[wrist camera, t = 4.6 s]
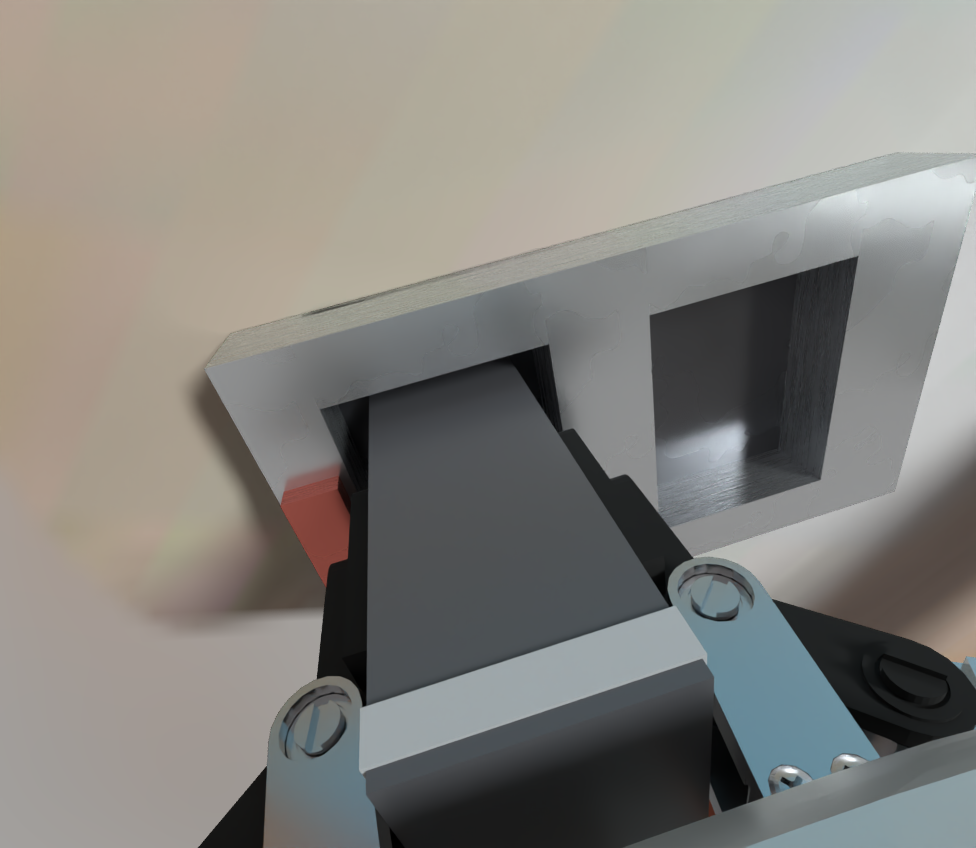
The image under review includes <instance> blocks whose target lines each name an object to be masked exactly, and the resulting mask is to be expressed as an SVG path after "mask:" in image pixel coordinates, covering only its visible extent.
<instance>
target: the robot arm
mask: <svg viewBox="0 0 976 848" xmlns="http://www.w3.org/2000/svg"><path fill="white" fill-rule="evenodd" d="M558 434H559V436H560V437H561V439H562V441H563V442H564V444H565V445H566V447H567V448H568V450H569V451H570V453H571V455H572V456H573V458H574V459H575V461H576V462H577V464H578V465H579V467H580V469H581V470H582V472H583V473H584V475H585V476H586V478H587V479H588V481H589V483H590V484H591V486H592V487H593V489H594V490H595V492H596V493H597V495H598V497H599V498H600V500H601V501H602V503H603V504H604V506H605V507H606V509H607V511H608V512H609V514H610V515H611V517H612V518H613V520H614V521H615V523H616V525H617V526H618V528H619V529H620V531H621V532H622V534H623V535H624V537H625V539H626V540H627V542H628V543H629V545H630V546H631V548H632V549H633V551H634V553H635V554H636V556H637V557H638V559H639V560H640V562H641V564H642V565H643V567H644V568H645V570H646V571H647V573H648V574H649V576H650V578H651V579H652V581H653V582H654V584H655V585H656V587H657V588H658V590H659V592H660V593H661V595H662V596H663V598H664V599H665V601H666V602H667V604H668V606H669V607H673V606H676V607H677V609H678V610H679V612H680V613H681V615H682V616H683V618H684V619H685V621H686V622H687V624H688V625H689V627H690V628H691V630H692V631H693V633H694V634H695V636H696V637H697V639H698V640H699V642H700V643H701V645H702V647H703V648H704V650H705V651H706V653H707V666H708V668H709V669H710V671H711V672H712V674H713V676H714V698H713V722H712V745H711V769H710V793H709V799H710V802H711V804H712V807H713V810H714V812H715V815H713V816H710V817H708V818H705V819H702V820H699V821H696V822H693V823H691V824H688V825H685V826H682V827H679V828H676V829H674V830H671V831H668V832H665V833H662V834H660V835H657V836H654V837H651V838H648V839H646V840H643V841H640V842H637V843H634V844H632V845H629V846H626V847H623V848H976V658H974V657H966V658H965V660H964V662H963V663H957V662H951V661H950V660H949V659H948V658H946V657H944V656H943V655H941V654H939V653H938V652H936V651H934V650H933V649H931V648H929V647H927V646H924V645H922V644H919V643H917V642H914V641H912V640H909V639H906V638H902V637H899V636H895V635H892V634H889V633H885V632H882V631H878V630H875V629H872V628H868V627H865V626H861V625H858V624H855V623H851V622H848V621H845V620H841V619H838V618H834V617H831V616H828V615H824V614H821V613H817V612H814V611H811V610H807V609H804V608H800V607H797V606H794V605H790V604H787V603H783V602H780V601H777V600H773V599H771V598H770V596H769V595H768V593H767V592H766V590H765V589H764V587H763V586H762V584H761V583H760V582H759V581H758V580H757V578H756V577H755V576H754V575H753V574H752V573H751V572H750V571H748V570H747V569H745V568H744V567H742V566H740V565H739V564H737V563H734V562H731V561H729V560H726V559H721V558H714V557H701V558H693V557H692V556H691V554H690V553H689V552H688V550H687V549H686V548H685V547H684V545H683V544H682V543H681V541H680V540H679V539H678V538H677V536H676V535H675V534H674V532H673V531H672V530H671V529H670V527H669V526H668V525H667V523H666V522H665V521H664V520H663V518H662V517H661V516H660V514H659V513H658V512H657V511H656V509H655V508H654V507H653V505H652V504H651V503H650V502H649V500H648V499H647V498H646V496H645V495H644V494H643V493H642V491H641V490H640V489H639V487H638V486H637V485H636V484H635V482H634V481H633V480H632V479H631V478H630V477H629V476H628V475H626V474H624V475H621V476H617V477H614V478H611V479H610V478H609V477H608V475H607V474H606V473H605V471H604V470H603V468H602V467H601V466H600V464H599V463H598V461H597V460H596V459H595V457H594V456H593V454H592V453H591V452H590V450H589V449H588V447H587V446H586V445H585V443H584V442H583V440H582V439H581V438H580V436H579V435H578V433H577V432H576V431H575V430H574V429H573V428H571V429H568V430H565V431H561V432H558ZM367 590H368V489H366V490H362V491H359V492H356V493H353V494H352V496H351V510H350V527H349V544H348V559H346V560H342V561H339V562H336V563H332V564H331V565H330V566H329V569H328V575H327V584H326V594H325V604H324V614H323V624H322V633H321V643H320V653H319V662H318V672H317V680H314V681H312V682H310V683H309V684H307V685H305V686H303V687H302V688H300V689H299V690H298V691H297V692H296V693H295V694H294V695H292V696H291V697H290V698H289V699H288V700H287V702H286V703H285V704H284V706H283V707H282V708H281V710H280V711H279V712H278V714H277V716H276V718H275V721H274V723H273V725H272V727H271V731H270V736H269V741H268V760H267V766H266V767H265V769H264V770H263V771H262V772H261V773H260V775H259V776H258V777H257V778H256V780H255V781H254V782H253V783H252V784H251V786H250V787H249V788H248V789H247V790H246V791H245V792H244V794H243V795H242V796H241V797H240V798H239V800H238V801H237V802H236V803H235V804H234V806H233V807H232V808H231V809H230V810H229V812H228V813H227V814H226V815H225V816H224V818H223V819H222V820H221V821H220V822H219V823H218V825H217V826H216V827H215V828H214V829H213V831H212V832H211V833H210V834H209V835H208V836H207V838H206V839H205V840H204V841H203V842H202V844H201V845H200V846H199V847H198V848H405V847H404V846H403V844H402V843H401V842H400V840H399V839H398V838H397V836H396V835H395V834H394V832H393V831H392V830H391V828H390V827H389V826H388V824H387V823H386V821H385V820H384V819H383V817H382V816H381V815H380V813H379V812H378V811H377V809H376V808H375V807H374V805H373V804H372V802H371V801H370V800H369V798H368V797H367V796H366V779H365V778H364V777H363V775H362V774H361V772H360V771H359V742H360V708H362V707H366V706H367Z"/></svg>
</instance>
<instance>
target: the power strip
mask: <svg viewBox="0 0 976 848" xmlns="http://www.w3.org/2000/svg"><path fill="white" fill-rule="evenodd" d="M975 192H976V154H970V153H894V154H890V155H887V156H883V157H879V158H875V159H872V160H868V161H864V162H861V163H857V164H853V165H850V166H846V167H842V168H839V169H835V170H831V171H828V172H824V173H820V174H817V175H813V176H809V177H805V178H802V179H798V180H794V181H791V182H787V183H783V184H780V185H776V186H772V187H769V188H765V189H761V190H758V191H754V192H750V193H747V194H743V195H739V196H736V197H732V198H728V199H724V200H721V201H717V202H713V203H710V204H706V205H702V206H699V207H695V208H691V209H688V210H684V211H680V212H677V213H673V214H669V215H666V216H662V217H658V218H654V219H651V220H647V221H643V222H640V223H636V224H632V225H629V226H625V227H621V228H618V229H614V230H610V231H607V232H603V233H599V234H596V235H592V236H588V237H584V238H581V239H577V240H573V241H570V242H566V243H562V244H559V245H555V246H551V247H548V248H544V249H540V250H537V251H533V252H529V253H526V254H522V255H518V256H515V257H511V258H507V259H503V260H500V261H496V262H492V263H489V264H485V265H481V266H478V267H474V268H470V269H467V270H463V271H459V272H456V273H452V274H448V275H445V276H441V277H437V278H433V279H430V280H426V281H422V282H419V283H415V284H411V285H408V286H404V287H400V288H397V289H393V290H389V291H386V292H382V293H378V294H375V295H371V296H367V297H363V298H360V299H356V300H352V301H349V302H345V303H341V304H338V305H334V306H330V307H327V308H323V309H319V310H316V311H312V312H308V313H305V314H301V315H297V316H294V317H290V318H286V319H282V320H279V321H275V322H271V323H268V324H264V325H260V326H257V327H253V328H249V329H246V330H242V331H238V332H235V333H231V334H230V335H229V336H228V338H227V339H226V340H225V342H224V343H223V344H222V346H221V347H220V348H219V350H218V351H217V352H216V354H215V355H214V356H213V358H212V359H211V360H210V362H209V363H208V364H207V366H206V367H205V369H204V370H205V371H206V373H207V375H208V377H209V379H210V380H211V382H212V384H213V386H214V387H215V389H216V391H217V393H218V395H219V396H220V398H221V400H222V402H223V403H224V405H225V407H226V409H227V411H228V412H229V414H230V416H231V418H232V420H233V421H234V423H235V425H236V427H237V428H238V430H239V432H240V434H241V436H242V437H243V439H244V441H245V443H246V445H247V446H248V448H249V450H250V452H251V453H252V455H253V457H254V459H255V461H256V462H257V464H258V466H259V468H260V470H261V471H262V473H263V475H264V477H265V478H266V480H267V482H268V484H269V486H270V487H271V489H272V491H273V493H274V494H275V496H276V498H277V500H278V502H279V503H280V507H281V509H282V510H283V512H284V514H285V516H286V518H287V519H288V521H289V523H290V525H291V526H292V528H293V530H294V532H295V534H296V535H297V537H298V539H299V541H300V542H301V544H302V546H303V548H304V550H305V551H306V553H307V555H308V557H309V558H310V560H311V562H312V564H313V566H314V567H315V569H316V571H317V573H318V575H319V576H320V578H321V580H322V582H323V583H324V585H325V587H326V584H327V575H328V569H329V566H330V565H331V564H332V563H336V562H339V561H342V560H346V559H348V544H349V527H350V510H351V496H352V494H353V493H356V492H359V491H362V490H366V489H368V474H369V395H373V394H376V393H380V392H383V391H387V390H390V389H394V388H397V387H401V386H404V385H408V384H411V383H415V382H418V381H422V380H425V379H429V378H432V377H436V376H439V375H443V374H446V373H450V372H453V371H457V370H460V369H464V368H467V367H471V366H474V365H478V364H481V363H485V362H488V361H492V360H495V359H499V358H502V357H506V356H509V358H510V360H511V361H512V363H513V364H514V366H515V367H516V369H517V370H518V372H519V374H520V375H521V377H522V378H523V380H524V381H525V383H526V385H527V386H528V388H529V389H530V391H531V392H532V394H533V395H534V397H535V399H536V400H537V402H538V403H539V405H540V406H541V408H542V409H543V411H544V413H545V414H546V416H547V417H548V419H549V420H550V422H551V423H552V425H553V427H554V428H555V430H556V431H557V433H558V432H561V431H565V430H568V429H571V428H573V429H574V430H575V431H576V432H577V433H578V435H579V436H580V438H581V439H582V440H583V442H584V443H585V445H586V446H587V447H588V449H589V450H590V452H591V453H592V454H593V456H594V457H595V459H596V460H597V461H598V463H599V464H600V466H601V467H602V468H603V470H604V471H605V473H606V474H607V475H608V477H609V478H610V479H611V478H614V477H617V476H621V475H624V474H626V475H628V476H629V477H630V478H631V479H632V480H633V481H634V482H635V484H636V485H637V486H638V487H639V489H640V490H641V491H642V493H643V494H644V495H645V496H646V498H647V499H648V500H649V502H650V503H651V504H652V505H653V507H654V508H655V509H656V511H657V512H658V513H659V514H660V516H661V517H662V518H663V520H664V521H665V522H666V523H667V525H668V526H669V527H670V529H671V530H672V531H673V532H674V534H675V535H676V536H677V538H678V539H679V540H680V541H681V543H682V544H683V545H684V547H685V548H686V549H687V550H688V552H689V553H690V554H691V556H692V557H693V556H696V555H699V554H702V553H705V552H708V551H711V550H714V549H717V548H721V547H724V546H727V545H730V544H733V543H736V542H739V541H742V540H745V539H748V538H752V537H755V536H758V535H761V534H764V533H767V532H770V531H773V530H776V529H779V528H783V527H786V526H789V525H792V524H795V523H798V522H801V521H804V520H807V519H810V518H814V517H817V516H820V515H823V514H826V513H829V512H832V511H835V510H838V509H841V508H845V507H848V506H851V505H854V504H857V503H860V502H863V501H866V500H869V499H872V498H876V497H879V496H882V495H885V494H888V493H891V492H894V491H895V488H896V485H897V481H898V477H899V474H900V470H901V466H902V462H903V459H904V455H905V451H906V448H907V444H908V440H909V437H910V433H911V429H912V425H913V422H914V418H915V414H916V411H917V407H918V403H919V400H920V396H921V392H922V388H923V385H924V381H925V377H926V374H927V370H928V366H929V362H930V359H931V355H932V351H933V348H934V344H935V340H936V337H937V333H938V329H939V325H940V322H941V318H942V314H943V311H944V307H945V303H946V300H947V296H948V292H949V288H950V285H951V281H952V277H953V274H954V270H955V266H956V263H957V259H958V255H959V251H960V248H961V244H962V240H963V237H964V233H965V229H966V226H967V222H968V218H969V214H970V211H971V207H972V203H973V200H974V196H975Z"/></svg>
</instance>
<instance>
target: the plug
mask: <svg viewBox="0 0 976 848" xmlns="http://www.w3.org/2000/svg"><path fill="white" fill-rule="evenodd" d="M713 698H714V676H713V674H712V672H711V671H710V669H709V668H708V666H707V653H706V651H705V650H704V648H703V647H702V645H701V643H700V642H699V640H698V639H697V637H696V636H695V634H694V633H693V631H692V630H691V628H690V627H689V625H688V624H687V622H686V621H685V619H684V618H683V616H682V615H681V613H680V612H679V610H678V609H677V607H676V606H673V607H669V606H668V604H667V602H666V601H665V599H664V598H663V596H662V595H661V593H660V592H659V590H658V588H657V587H656V585H655V584H654V582H653V581H652V579H651V578H650V576H649V574H648V573H647V571H646V570H645V568H644V567H643V565H642V564H641V562H640V560H639V559H638V557H637V556H636V554H635V553H634V551H633V549H632V548H631V546H630V545H629V543H628V542H627V540H626V539H625V537H624V535H623V534H622V532H621V531H620V529H619V528H618V526H617V525H616V523H615V521H614V520H613V518H612V517H611V515H610V514H609V512H608V511H607V509H606V507H605V506H604V504H603V503H602V501H601V500H600V498H599V497H598V495H597V493H596V492H595V490H594V489H593V487H592V486H591V484H590V483H589V481H588V479H587V478H586V476H585V475H584V473H583V472H582V470H581V469H580V467H579V465H578V464H577V462H576V461H575V459H574V458H573V456H572V455H571V453H570V451H569V450H568V448H567V447H566V445H565V444H564V442H563V441H562V439H561V437H560V436H559V434H558V433H557V431H556V430H555V428H554V427H553V425H552V423H551V422H550V420H549V419H548V417H547V416H546V414H545V413H544V411H543V409H542V408H541V406H540V405H539V403H538V402H537V400H536V399H535V397H534V395H533V394H532V392H531V391H530V389H529V388H528V386H527V385H526V383H525V381H524V380H523V378H522V377H521V375H520V374H519V372H518V370H517V369H516V367H515V366H514V364H513V363H512V361H511V360H510V358H509V356H506V357H502V358H499V359H495V360H492V361H488V362H485V363H481V364H478V365H474V366H471V367H467V368H464V369H460V370H457V371H453V372H450V373H446V374H443V375H439V376H436V377H432V378H429V379H425V380H422V381H418V382H415V383H411V384H408V385H404V386H401V387H397V388H394V389H390V390H387V391H383V392H380V393H376V394H373V395H369V474H368V590H367V706H366V707H362V708H360V742H359V771H360V772H361V774H362V775H363V777H364V778H365V779H366V796H367V797H368V798H369V800H370V801H371V802H372V804H373V805H374V807H375V808H376V809H377V811H378V812H379V813H380V815H381V816H382V817H383V819H384V820H385V821H386V823H387V824H388V826H389V827H390V828H391V830H392V831H393V832H394V834H395V835H396V836H397V838H398V839H399V840H400V842H401V843H402V844H403V846H404V847H405V848H623V847H626V846H629V845H632V844H634V843H637V842H640V841H643V840H646V839H648V838H651V837H654V836H657V835H660V834H662V833H665V832H668V831H671V830H674V829H676V828H679V827H682V826H685V825H688V824H691V823H693V822H696V821H699V820H702V819H705V818H708V816H709V793H710V769H711V745H712V722H713Z"/></svg>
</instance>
